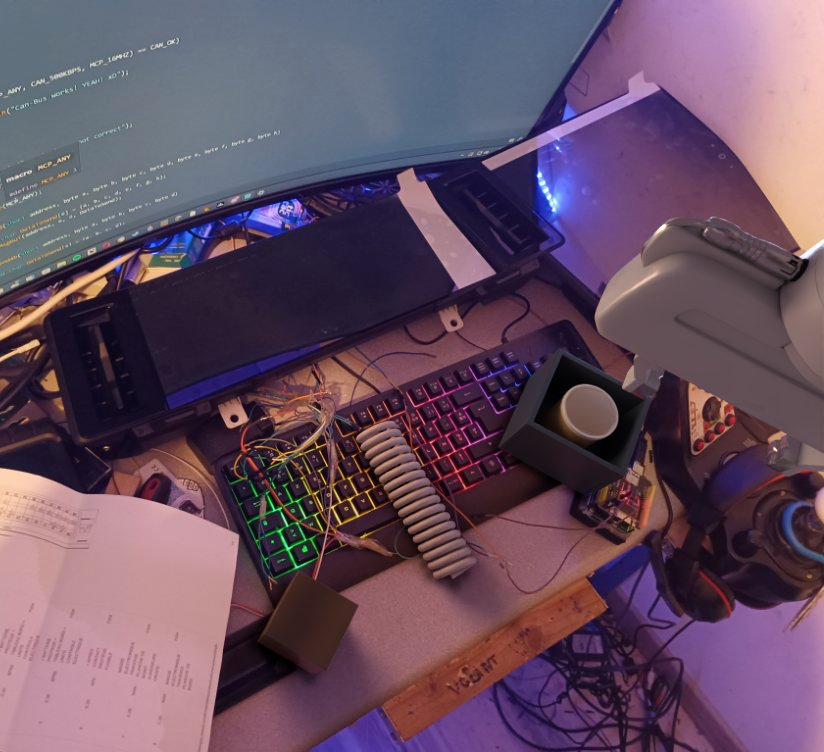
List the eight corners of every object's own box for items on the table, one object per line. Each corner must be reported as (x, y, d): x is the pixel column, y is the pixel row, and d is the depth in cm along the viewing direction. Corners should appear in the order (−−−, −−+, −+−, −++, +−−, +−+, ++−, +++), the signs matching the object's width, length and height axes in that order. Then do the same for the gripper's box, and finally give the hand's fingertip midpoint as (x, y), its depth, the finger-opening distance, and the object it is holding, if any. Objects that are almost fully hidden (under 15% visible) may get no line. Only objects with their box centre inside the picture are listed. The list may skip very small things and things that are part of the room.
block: (339, 617, 72) (359, 605, 62) (310, 673, 69) (326, 671, 59) (287, 586, 72) (298, 570, 62) (257, 642, 70) (264, 634, 60)
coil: (486, 560, 72) (396, 409, 77) (450, 582, 70) (360, 425, 75) (467, 570, 76) (383, 425, 81) (433, 590, 74) (348, 441, 79)
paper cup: (590, 426, 84) (625, 401, 77) (573, 470, 81) (608, 448, 74) (543, 401, 84) (574, 374, 77) (524, 444, 82) (555, 420, 74)
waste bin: (612, 424, 85) (652, 397, 77) (585, 497, 81) (624, 477, 73) (527, 379, 86) (559, 347, 78) (496, 449, 82) (526, 423, 74)
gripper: (664, 250, 31) (535, 380, 44) (1120, 484, 29) (850, 550, 42) (700, 157, 34) (569, 304, 46) (1120, 366, 32) (866, 461, 44)
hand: (704, 422), depth 44 cm, fingers open, 8 cm apart
